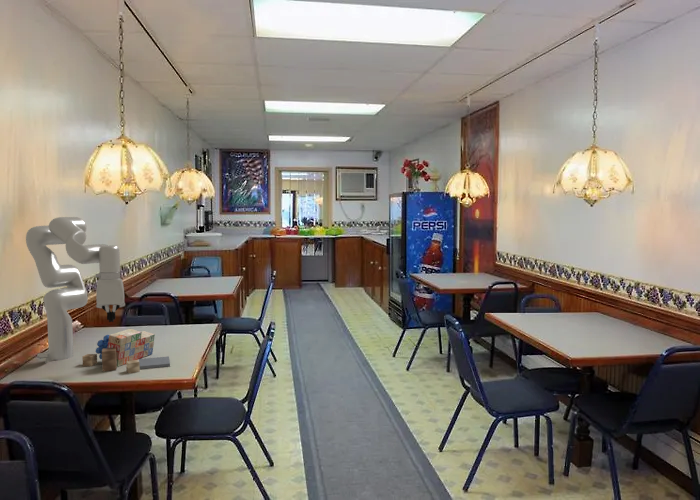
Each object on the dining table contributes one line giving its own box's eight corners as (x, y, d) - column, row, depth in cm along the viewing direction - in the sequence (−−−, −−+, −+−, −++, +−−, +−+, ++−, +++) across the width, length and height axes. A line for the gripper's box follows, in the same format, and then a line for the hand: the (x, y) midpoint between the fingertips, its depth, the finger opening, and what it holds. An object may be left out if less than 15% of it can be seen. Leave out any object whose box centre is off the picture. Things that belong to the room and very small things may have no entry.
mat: (138, 369, 218) (138, 366, 218) (139, 361, 229) (139, 358, 229) (170, 366, 222) (169, 363, 222) (169, 359, 233) (169, 356, 233)
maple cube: (129, 373, 212) (128, 363, 212) (126, 371, 216) (126, 361, 215) (139, 371, 215) (139, 362, 214) (137, 369, 218) (136, 359, 218)
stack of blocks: (141, 350, 243) (144, 324, 242) (152, 354, 241) (156, 327, 240) (105, 362, 223) (109, 334, 221) (117, 367, 221) (121, 338, 220)
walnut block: (102, 371, 215) (101, 351, 214) (103, 367, 220) (102, 348, 219) (116, 370, 217) (115, 350, 216) (116, 366, 221) (116, 347, 221)
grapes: (125, 359, 235) (129, 332, 233) (121, 364, 228) (125, 337, 227) (97, 355, 233) (101, 328, 231) (92, 360, 226) (96, 333, 225)
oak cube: (82, 366, 223) (82, 356, 223) (87, 363, 227) (87, 354, 227) (92, 366, 223) (91, 356, 223) (97, 363, 227) (96, 354, 227)
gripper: (88, 278, 211) (89, 324, 213) (129, 276, 217) (131, 322, 218) (90, 276, 218) (91, 321, 220) (130, 274, 224) (131, 318, 225)
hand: (111, 321), depth 219 cm, fingers closed
